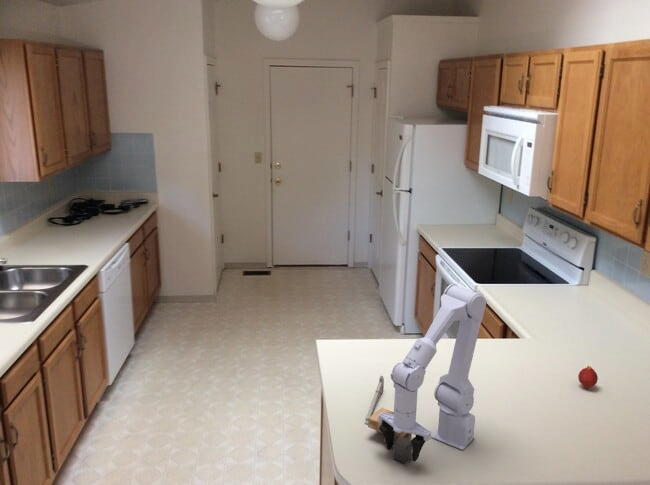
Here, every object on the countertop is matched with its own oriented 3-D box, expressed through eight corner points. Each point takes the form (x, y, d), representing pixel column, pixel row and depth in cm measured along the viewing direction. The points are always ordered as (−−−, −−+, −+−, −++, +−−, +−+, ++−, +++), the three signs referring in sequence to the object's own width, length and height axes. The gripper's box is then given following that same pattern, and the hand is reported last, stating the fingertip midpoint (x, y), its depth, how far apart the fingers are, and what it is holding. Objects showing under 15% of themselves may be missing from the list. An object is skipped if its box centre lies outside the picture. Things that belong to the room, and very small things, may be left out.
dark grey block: (404, 465, 150) (405, 447, 149) (392, 460, 152) (393, 441, 151) (419, 450, 156) (420, 432, 155) (408, 445, 158) (409, 428, 157)
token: (399, 441, 161) (399, 438, 160) (392, 448, 158) (393, 444, 157) (388, 437, 163) (388, 433, 162) (381, 443, 160) (381, 439, 160)
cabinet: (411, 439, 161) (412, 419, 160) (398, 451, 156) (399, 431, 154) (380, 426, 167) (381, 407, 166) (367, 437, 162) (368, 418, 160)
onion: (581, 381, 195) (584, 360, 193) (598, 388, 191) (602, 366, 189) (574, 387, 191) (577, 365, 189) (591, 394, 187) (595, 371, 185)
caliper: (380, 391, 187) (380, 373, 185) (383, 391, 187) (384, 374, 185) (364, 424, 168) (365, 405, 167) (368, 425, 168) (368, 406, 166)
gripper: (372, 404, 150) (370, 450, 153) (423, 424, 141) (419, 472, 145) (387, 393, 155) (385, 438, 159) (436, 412, 147) (432, 458, 150)
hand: (402, 453), depth 152 cm, fingers open, 7 cm apart
